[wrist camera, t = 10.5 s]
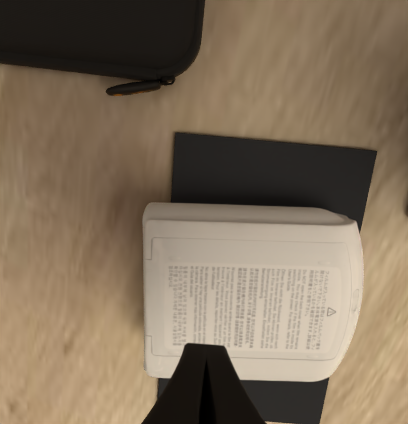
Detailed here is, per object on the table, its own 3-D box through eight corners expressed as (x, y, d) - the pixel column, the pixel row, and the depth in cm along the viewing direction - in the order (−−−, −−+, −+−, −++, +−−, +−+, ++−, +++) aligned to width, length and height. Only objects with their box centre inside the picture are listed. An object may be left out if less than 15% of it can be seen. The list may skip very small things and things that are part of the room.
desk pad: (374, 150, 19) (377, 150, 19) (317, 421, 24) (319, 425, 23) (176, 132, 19) (175, 132, 19) (157, 408, 24) (156, 412, 23)
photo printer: (152, 343, 22) (332, 346, 22) (140, 391, 18) (362, 395, 18) (150, 195, 19) (350, 199, 20) (135, 211, 15) (391, 216, 15)
